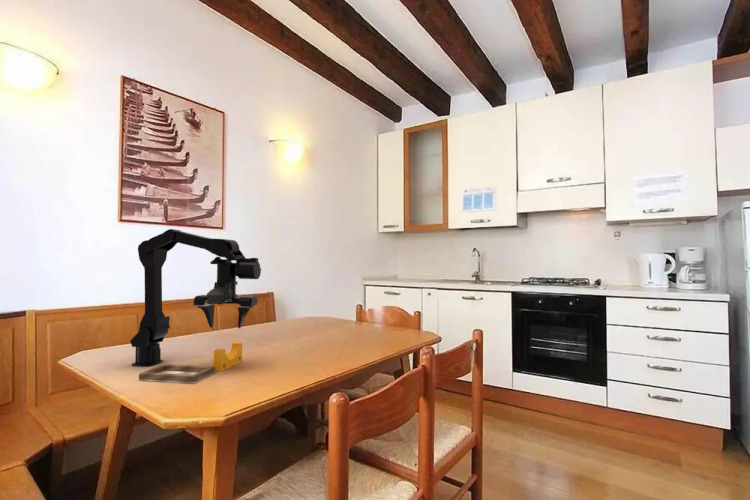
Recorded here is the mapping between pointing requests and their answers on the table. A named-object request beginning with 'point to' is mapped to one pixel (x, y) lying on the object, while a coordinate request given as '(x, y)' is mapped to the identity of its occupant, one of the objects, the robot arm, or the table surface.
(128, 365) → the table surface
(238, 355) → the pipe clamp
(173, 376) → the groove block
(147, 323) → the robot arm
